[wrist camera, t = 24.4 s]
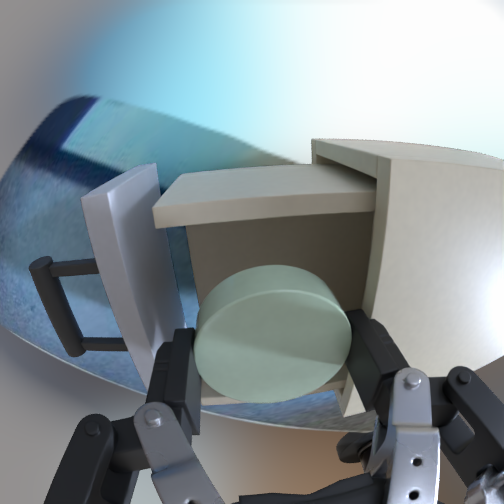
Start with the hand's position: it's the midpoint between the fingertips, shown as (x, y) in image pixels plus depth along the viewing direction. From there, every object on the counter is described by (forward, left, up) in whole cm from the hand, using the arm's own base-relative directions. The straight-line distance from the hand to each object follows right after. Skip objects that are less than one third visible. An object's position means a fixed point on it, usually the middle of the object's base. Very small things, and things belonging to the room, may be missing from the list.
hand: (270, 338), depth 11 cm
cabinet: (0, -12, -9) cm, 15 cm away
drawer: (0, +2, -8) cm, 8 cm away
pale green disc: (0, 0, -1) cm, 1 cm away
